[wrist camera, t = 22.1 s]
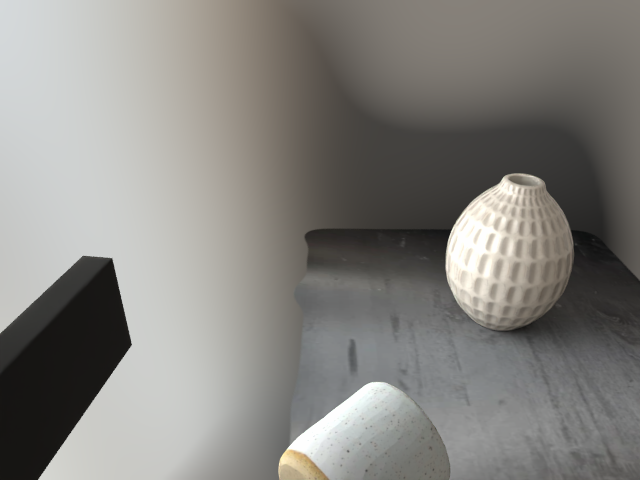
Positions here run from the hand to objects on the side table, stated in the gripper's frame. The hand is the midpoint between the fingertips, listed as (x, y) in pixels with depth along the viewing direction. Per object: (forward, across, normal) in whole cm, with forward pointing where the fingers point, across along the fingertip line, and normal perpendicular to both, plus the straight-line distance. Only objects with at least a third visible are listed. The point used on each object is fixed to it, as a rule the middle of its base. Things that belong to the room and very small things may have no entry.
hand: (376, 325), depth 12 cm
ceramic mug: (+10, +1, -24) cm, 26 cm away
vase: (+40, +14, -29) cm, 51 cm away
